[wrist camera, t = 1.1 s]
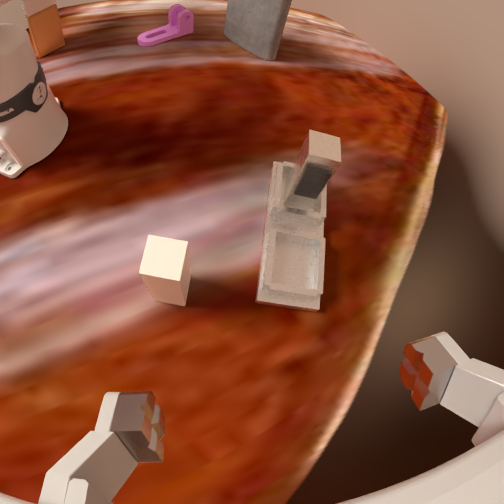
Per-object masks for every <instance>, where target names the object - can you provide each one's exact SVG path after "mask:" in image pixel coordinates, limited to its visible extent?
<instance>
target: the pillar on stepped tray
mask: <svg viewBox="0 0 504 504" xmlns="http://www.w3.org/2000/svg"><path fill="white" fill-rule="evenodd" d="M340 163H341V146H340V138H339V137H336V136H332V135H328V134H325V133H321V132H317V131H313V130H309V132H308V134H307V136H306V138H305V141H304V143H303V145H302V147H301V149H300V152H299V154H298V156H297V158H296V161H295V163H291V162H286V161H283V163H281V162H276V161H274V162H273V164H272V168H271V177H270V185H269V193H268V201H267V210H266V218H265V226H264V234H263V242H262V250H261V258H260V266H259V274H258V282H257V290H256V297H255V303H259V304H265V305H272V306H278V307H285V308H292V309H299V310H306V311H313V312H316V311H318V310H319V309H320V296H321V295H322V294H323V282H324V263H325V239H326V238H323V235H324V220H325V218H326V197H327V183H328V182H329V180H330V179H331V177H332V176H333V174H334V173H335V171H336V170H337V168H338V166H339V165H340Z"/></svg>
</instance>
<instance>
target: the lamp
mask: <svg viewBox="0 0 504 504" xmlns="http://www.w3.org/2000/svg"><path fill="white" fill-rule="evenodd" d="M55 3H56V0H22V4H23V8H24V12H25V15H26V19H27V22H28V26H29V30H30V33H31V37H32V40H33V43H34V46H35V50H36V52H37V54H38V56H39V58H41V57H43V56H45V55H47V54H49V53H51V52H52V51H54V50H56V49H58V48H60V47H62V46H64V45H66V44H65V40H64V36H63V32H62V28H61V23H60V19H59V14H58V9H57V5H56V4H55Z"/></svg>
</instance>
